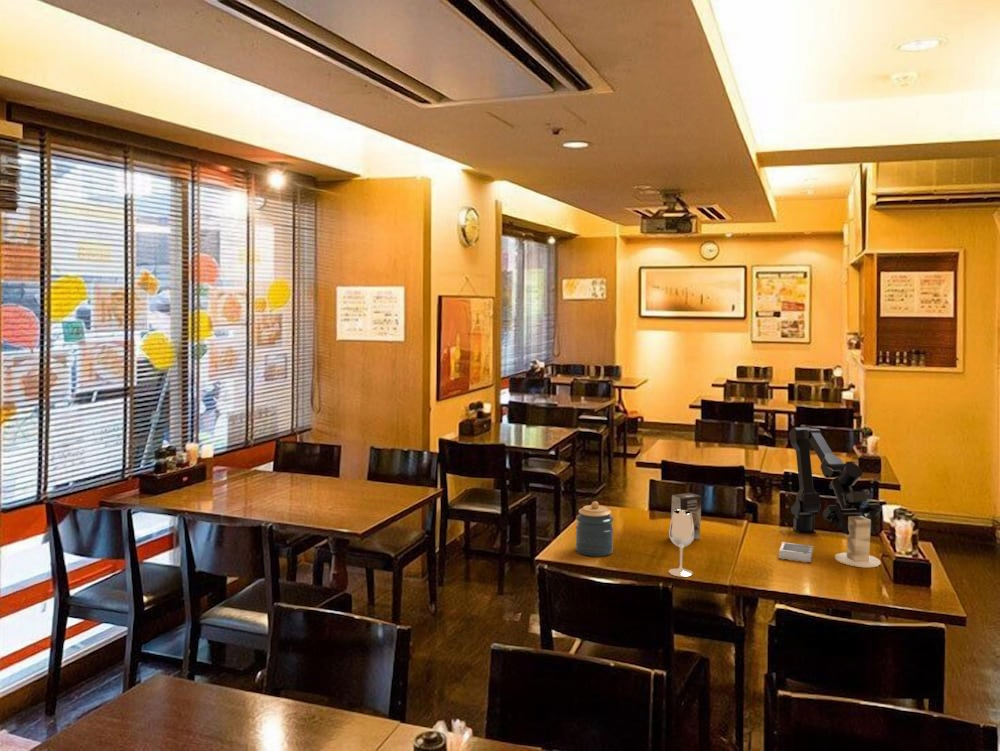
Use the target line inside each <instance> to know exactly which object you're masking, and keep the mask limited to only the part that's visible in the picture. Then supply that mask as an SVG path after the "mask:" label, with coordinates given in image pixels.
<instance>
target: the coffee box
mask: <svg viewBox="0 0 1000 751" xmlns="http://www.w3.org/2000/svg"><path fill="white" fill-rule="evenodd" d="M675 510H688V511H690V512H691V514H692V519H693V525H694V539H696V540H700V539H701V518H702V517H701V515H702V496H701V495H700V494H696V493H692V492H688V493H678V494H671V511H670V513H671V514H670V520H671V519H672V515H673V512H674V511H675ZM694 539H693V541H695V540H694Z"/></svg>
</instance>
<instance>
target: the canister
mask: <svg viewBox="0 0 1000 751" xmlns="http://www.w3.org/2000/svg"><path fill="white" fill-rule="evenodd" d="M578 513H579V514H578V515H576V517H575V520H576V522H577V524H576V525H575V530H576V531H575V532H576V533H575V539H576V540H575V550H576V552H577V553H578V554H580V555H582V554H583V555H582V556H586V555H589V556H588V557H606V556H609V555H610V554H612V553H613V550H614V544H613V543H614V529H615V528H614V526H613V522H614V520H615V518H614V517H613V516H612V511H611V510H610V509H608V507H606V506H603V505H600V503H599V502H598V501H596V500H595V501H592V502H591V504H590V505H589V504H588V505H585V506H583V507H582V508H580V509H578Z"/></svg>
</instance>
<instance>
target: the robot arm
mask: <svg viewBox="0 0 1000 751" xmlns="http://www.w3.org/2000/svg"><path fill="white" fill-rule="evenodd" d="M788 437H789V440H790V441H789V442H790V445H791V446H792V448H793V449H794V451H795V456H796V464H797V467H796V468H797V476H798V486H799V488H798V489H799V490H798V492H797V493H796V496H795V502H794V503H793V505H792V506H791V507H790V511H791V514H792V515H794V517H793V526H792V530H795V531H796V532H797V533H800V534H806V533H807V534H810V533H809V532H816V533H817V531H816V530H815V517H818V516H819V514H820V511H821V508H822V502H821V496H820V493H819V492H816V489H814V482H813V481H814V479H813V473H812V471H813V470H812V461H811V449H813V451H814V453H815V454H816V456H817V457H818V458H819V460H820V466H819V468H820V470H821V473H822V474H823V477H824V478H826V479H833V480H831V481H830V483H829V485H828V489H830V490H832V489H833V493H834V495H835V497H836V498H835V502H836V503H835V504H828V505H827V506H826V508H825V509H823V510H824V511H823V512H822V517H823V519H824V520H825V521H828V522H830V523H832V524H833V525H835V526H837V527H838V528H839V529H840V530H841V531H842V532H843V533H844V534H846V535H849V530H848V524H847V523H846V521H845V518H844V515H861V516H863V517H865V518H868V519H870V520H871V529H870V533H872V535H874V534H875V533H876V517H877V516H878V515H879V514H880V513H881V511H882V510H883V509H882V507H881V505H880V504H879V503H877V502H876V503H867V504H866V505H865V507H862V505H863V503H864V502H867V501H868V500H870V499H871V498H872V496H871V492H870V490H869V489H862V490H860V491H855V490H853V488H852V486H854V485H855V484H856V483H857V482H858V481H859V479H860V478H862V476H863V470H862V468H861V467H859V465H857V464H854V463H853V461H852V460H850V461H846V462H844V461H843V460H842V459H841V457H838V456H837V455H835V454H834V453H833V451H832V449H831V448H830V447H829V445H828V442H827V441H826V440H825V438H824V437H823V435H822V431H821V429H819V428H810V427H809V426H807V427H806V426H805V427H792V428H791V429H790V431H789V432H788Z"/></svg>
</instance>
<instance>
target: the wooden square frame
mask: <svg viewBox="0 0 1000 751" xmlns="http://www.w3.org/2000/svg"><path fill="white" fill-rule="evenodd" d="M812 554H814V546H813V545H809V544H808V545H807V544H800V543H792V542H785V541H782V542H781V545H780V548H779V550H778V559H779V558H781V559H780V560H784V559H788V560H787V561H792V560H795V561H794V562H799V561H802V562H801V563H807V562H811V563H812V559H813V555H812ZM811 558H812V559H811Z"/></svg>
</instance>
